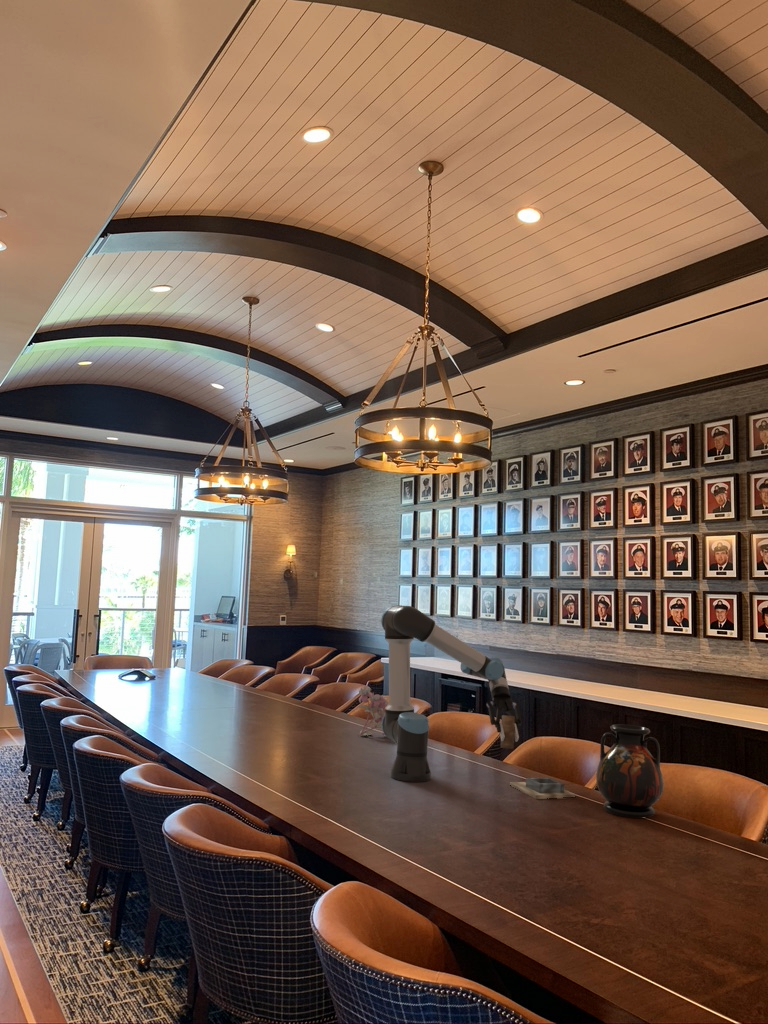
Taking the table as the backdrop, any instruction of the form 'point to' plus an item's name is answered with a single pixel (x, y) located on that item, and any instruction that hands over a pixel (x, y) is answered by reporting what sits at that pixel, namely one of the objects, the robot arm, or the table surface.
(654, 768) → the amphora vase
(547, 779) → the maple board
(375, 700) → the flower
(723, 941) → the table surface
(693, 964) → the table surface
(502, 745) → the walnut peg
